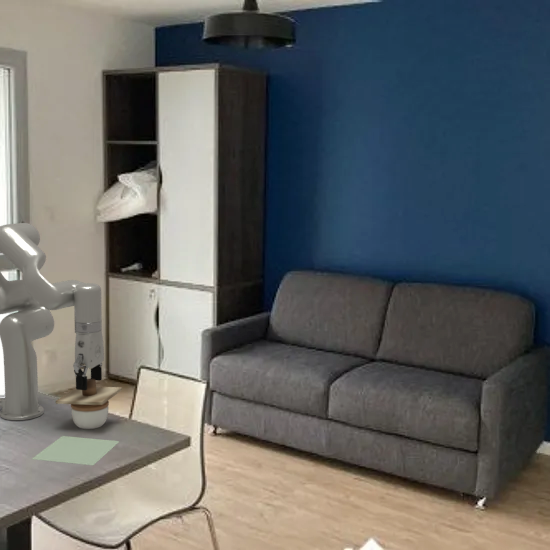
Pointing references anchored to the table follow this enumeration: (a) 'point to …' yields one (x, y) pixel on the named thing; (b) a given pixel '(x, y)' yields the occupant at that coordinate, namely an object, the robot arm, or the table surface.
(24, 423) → the table surface
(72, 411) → the lidded jar
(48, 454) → the mat
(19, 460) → the table surface
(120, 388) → the cover
